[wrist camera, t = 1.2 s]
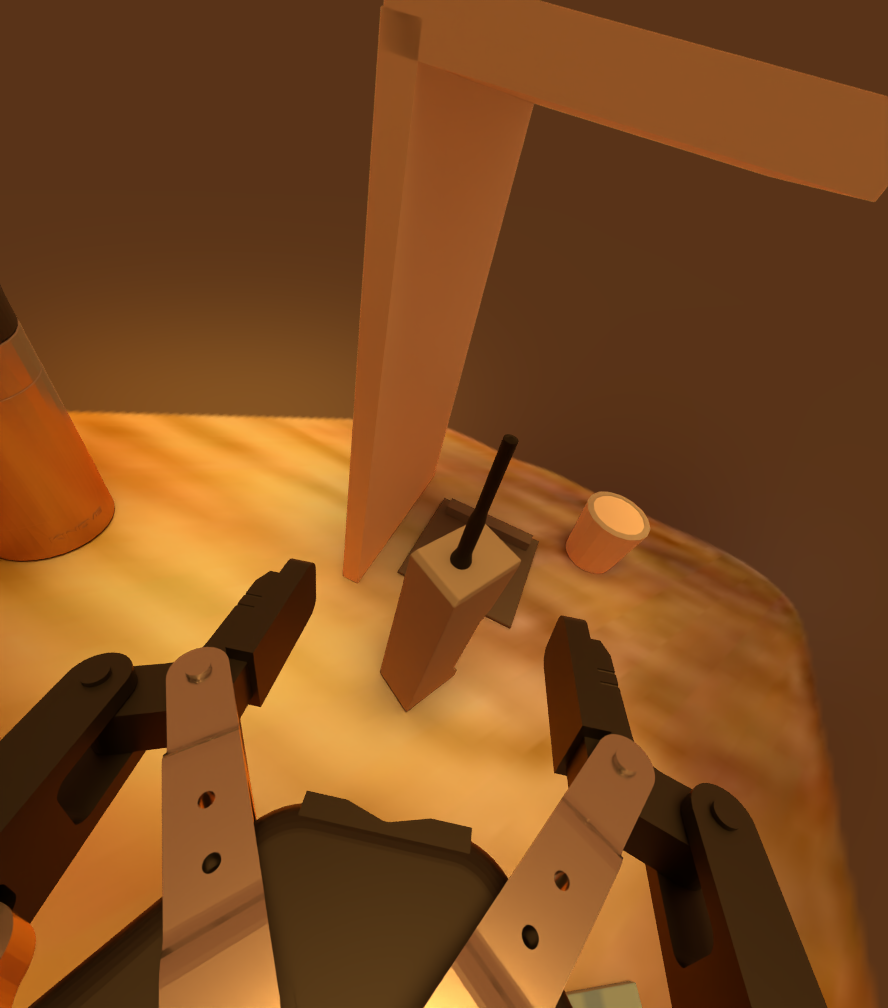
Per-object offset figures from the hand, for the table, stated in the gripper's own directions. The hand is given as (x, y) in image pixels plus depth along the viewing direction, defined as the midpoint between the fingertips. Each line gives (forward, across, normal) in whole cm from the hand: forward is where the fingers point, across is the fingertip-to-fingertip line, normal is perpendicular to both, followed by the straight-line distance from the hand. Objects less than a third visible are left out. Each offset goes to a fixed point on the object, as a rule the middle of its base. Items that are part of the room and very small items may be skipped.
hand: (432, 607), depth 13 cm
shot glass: (+30, -16, +17) cm, 38 cm away
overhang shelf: (+25, -1, +17) cm, 31 cm away
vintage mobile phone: (+12, 0, +20) cm, 23 cm away
